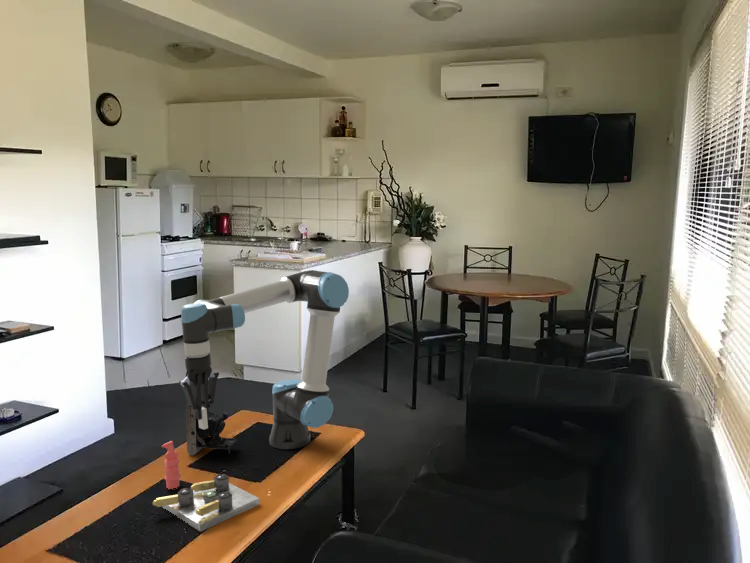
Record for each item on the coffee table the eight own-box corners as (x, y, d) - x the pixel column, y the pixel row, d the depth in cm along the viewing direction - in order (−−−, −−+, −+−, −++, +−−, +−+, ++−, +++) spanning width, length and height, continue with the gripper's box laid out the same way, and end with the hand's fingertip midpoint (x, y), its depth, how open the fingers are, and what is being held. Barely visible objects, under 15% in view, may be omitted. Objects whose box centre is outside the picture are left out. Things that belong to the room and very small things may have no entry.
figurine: (165, 492, 193) (162, 445, 191) (162, 485, 197) (160, 440, 195) (182, 488, 195) (180, 442, 193) (179, 481, 200) (177, 437, 198)
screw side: (226, 501, 182) (226, 489, 181) (235, 506, 179) (234, 493, 178) (192, 516, 173) (191, 503, 173) (201, 521, 171) (200, 508, 170)
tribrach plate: (220, 484, 198) (220, 471, 197) (259, 504, 184) (258, 491, 184) (162, 507, 183) (161, 494, 182) (200, 531, 170) (199, 517, 169)
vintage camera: (226, 460, 217) (226, 405, 214) (185, 455, 220) (185, 401, 217) (238, 449, 226) (238, 396, 224) (198, 445, 229) (198, 393, 227)
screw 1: (193, 497, 184) (192, 485, 183) (194, 504, 180) (193, 492, 179) (152, 505, 180) (151, 492, 180) (153, 512, 176) (152, 499, 175)
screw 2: (227, 483, 193) (227, 472, 192) (230, 489, 189) (229, 477, 188) (190, 490, 189) (189, 478, 188) (191, 496, 185) (190, 484, 184)
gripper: (208, 347, 197) (214, 418, 200) (171, 357, 187) (178, 431, 191) (222, 351, 192) (228, 424, 196) (185, 361, 182) (192, 437, 186)
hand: (203, 427), depth 193 cm, fingers closed
